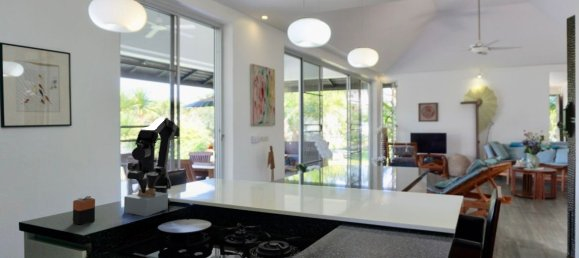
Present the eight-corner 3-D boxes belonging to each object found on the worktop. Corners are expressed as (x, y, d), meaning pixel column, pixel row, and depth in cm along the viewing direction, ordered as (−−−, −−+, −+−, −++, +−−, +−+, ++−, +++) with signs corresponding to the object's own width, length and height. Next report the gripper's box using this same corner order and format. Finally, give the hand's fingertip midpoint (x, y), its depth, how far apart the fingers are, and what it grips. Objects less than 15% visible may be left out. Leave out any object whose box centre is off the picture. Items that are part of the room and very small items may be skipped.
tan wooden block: (144, 193, 176) (144, 187, 176) (155, 195, 174) (155, 188, 174) (138, 195, 172) (138, 188, 172) (149, 197, 170) (149, 190, 170)
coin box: (146, 205, 182) (146, 190, 182) (167, 208, 178) (168, 193, 177) (124, 212, 169) (124, 196, 168) (146, 216, 165) (146, 200, 164)
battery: (95, 221, 155) (95, 196, 154) (79, 225, 149) (79, 199, 148) (88, 219, 157) (88, 195, 156) (72, 223, 151) (72, 198, 150)
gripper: (147, 153, 183) (146, 186, 184) (117, 157, 166) (116, 193, 167) (167, 155, 180) (166, 188, 181) (138, 160, 162) (137, 197, 163)
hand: (146, 192), depth 173 cm, fingers closed on tan wooden block, 4 cm apart
